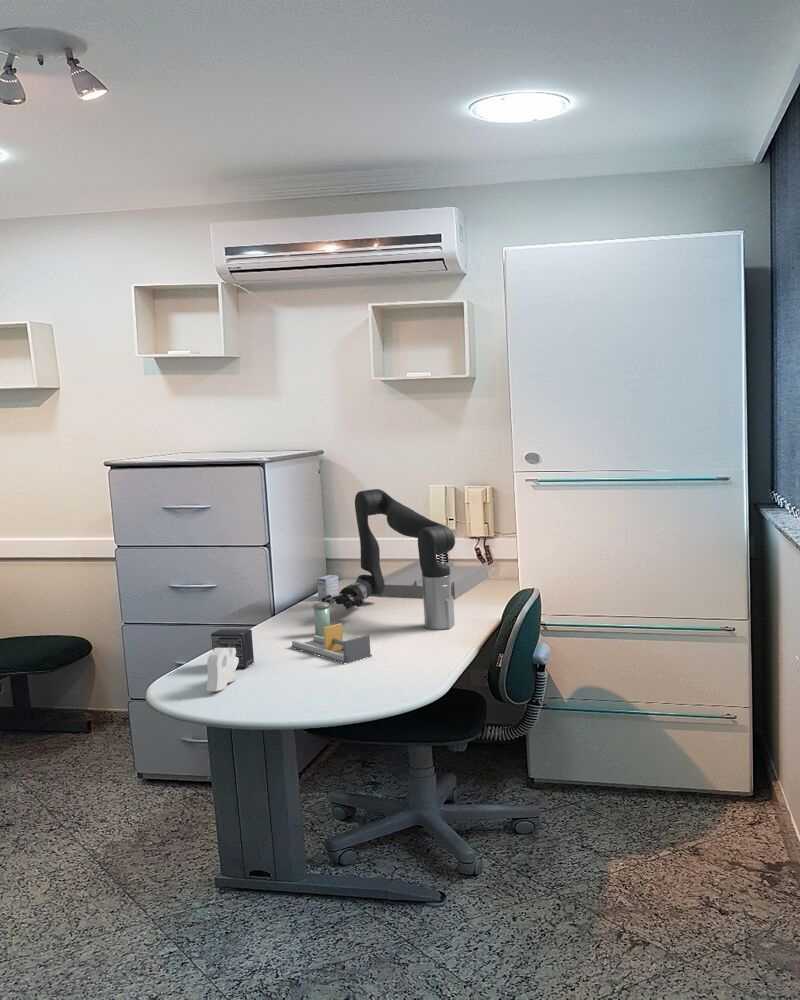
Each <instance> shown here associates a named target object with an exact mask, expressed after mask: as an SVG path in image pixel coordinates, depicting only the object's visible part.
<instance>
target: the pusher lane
mask: <svg viewBox="0 0 800 1000" xmlns="http://www.w3.org/2000/svg"><path fill="white" fill-rule="evenodd" d="M370 636H371V635H369V634H366V635H362V636H359V637H355V638H354V637H353V638H351V639H347V640H344V641H343V648H344V649H341V650H338V651H334V652H332V651H329V650H326V649H324V636H322V637H321V636H317V635H315V634H314V635H313V636H312V640H309V641H305V642H301V641H298V640H291V646H290V648H291V647H293V648H292V649H294V648H296V649H295V650H297V649H299V650H298V651H300V650H303V651H302V652H304V651H306V652H305V653H307V652H309V653H308V654H310V653H313V654H312V655H314V654H316V655H315V656H317V655H320V656H323V657H326V658H325V659H327V658H329V659H328V660H330V659H332V660H331V661H333V660H336V661H339V662H338V663H340V662H342V663H341V664H343V663H348V664H351V663H354V662H353V661H355V662H357V661H356V660H358V661H360V659H362V660H364V659H363V658H365V659H367V658H366V657H369V658H371V657H370V656H372V657H373V654H372V653H371V639H370V638H371V637H370ZM320 656H319V657H320ZM323 657H322V658H323ZM336 661H335V662H336ZM350 662H351V663H350Z"/></svg>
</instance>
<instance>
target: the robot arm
mask: <svg viewBox="0 0 800 1000" xmlns="http://www.w3.org/2000/svg"><path fill="white" fill-rule="evenodd" d="M354 509H355V511H354V512H355V516H356V524H357V530H358V535H359V543H360V568H361V569H362V570H363V571H366V572H368V573H370V574H359V576H357V578H356V581H355V582H353V583H351V584H349V585H346V586H345V587H344V588H342V589H341V590H339V594H338V595H335V596H331V595H327V596H325V597H323V598H322V601H321V602H328V603H329V607H331V606H332V607H337V606H338V607H339V606H343V607H344V608H345V609H346V610H349V609H351V608H352V609H353V608H355V607H358V608H360V607H361V606H363V605H364V604H365V601H366V599H368V598H369V597H370V596H371V595H373V596H378V595H380V594H381V593H382V592H383V590H384V586H385V585H384V579H383V577H384V576H383V573H382V569H381V565H380V563H381V562H380V561H381V560H380V559H381V557H380V553H381V551H380V545H379V542H378V540H377V539H376V537H375V535H374V534H373V533H372V530H371V529H370V525H369V516H375V515H384V516H386V522H387V524H388V527H390V528H391V529H393V530H394V531H395V532H396V533H398V534H400V535H402V536H405V537H409V538H414V539H415V538H416V539H417V550H418V559H419V560H418V561H419V565H420V567H421V570H422V582H423V598H422V601H423V616H424V618H423V619H424V620H423V621H424V628H425V629H429V630H447V629H451V628H452V627H453V626H455V624H456V623H455V605H454V600H453V596H451V579H450V567H449V566H448V565H446V564H447V563H441V562H439V561H438V559H437V558H438V557H437V555H443V554H447V553H449V552H450V551H452V550H453V549H454V547H455V544H456V538H455V535H454V532H452V530H451V528H449V527H448V526H447V525H445V524H442V523H439V522H437V521H434V520H431V519H429V518H427V517H426V516H424V515H422V514H420V513H418V512H417V511H415V510H414V509H412V508H410V507H409V506H406V505H404V504H402V503H401V502H399V501H398V500H396V499H394V498H393V497H392V496H390V495H389V494H388V493H387V492H385V491H384V490H383V489H380V488H375V489H365V490H360V491H358V492H357V493H356V495H355V497H354Z"/></svg>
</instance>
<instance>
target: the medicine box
mask: <svg viewBox="0 0 800 1000" xmlns="http://www.w3.org/2000/svg"><path fill="white" fill-rule="evenodd" d="M316 581H317V582H316V583H317V597H318V598H317V599H318V601H320V602H322V598H323V597H325V596H327V595H331V596H335V595H338V594H339V593H340V583H339V575H334V574H328V575H325V576H321V577H318V578H317V579H316Z"/></svg>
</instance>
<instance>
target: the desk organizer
mask: <svg viewBox="0 0 800 1000" xmlns="http://www.w3.org/2000/svg"><path fill="white" fill-rule="evenodd" d="M488 563H489V562H488V561H487V562H486V561H485V562H484V563H482V564H481V565H479V566H475V565H454V561H452V560H451V561H449V562H447V563H445V564H446V565H448V566H449V567H450V579H451V596H453V601H455V600H457V599H458V598H460V597H461V596H463V595H464V594H466V593H468V592H469V591H470V590H472V589H474V588H475V587H478V586H479V584H481V583H483V582H484V581H486V580H487V579H489V564H488ZM383 579H384V585H385V586H384V590H383V592H382V593H381V594H380V595H377V596H378V597H383V598H384V597H386V598H409V599H423V582H422V570H421V567H420V560H415V561H413V562H412V563H409V564H407V565H405V566H403V567H401V568H398V569H397V570H394V571H393V572H391V573H390V572H389V573H388V574H386V575H385V576H383Z"/></svg>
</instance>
